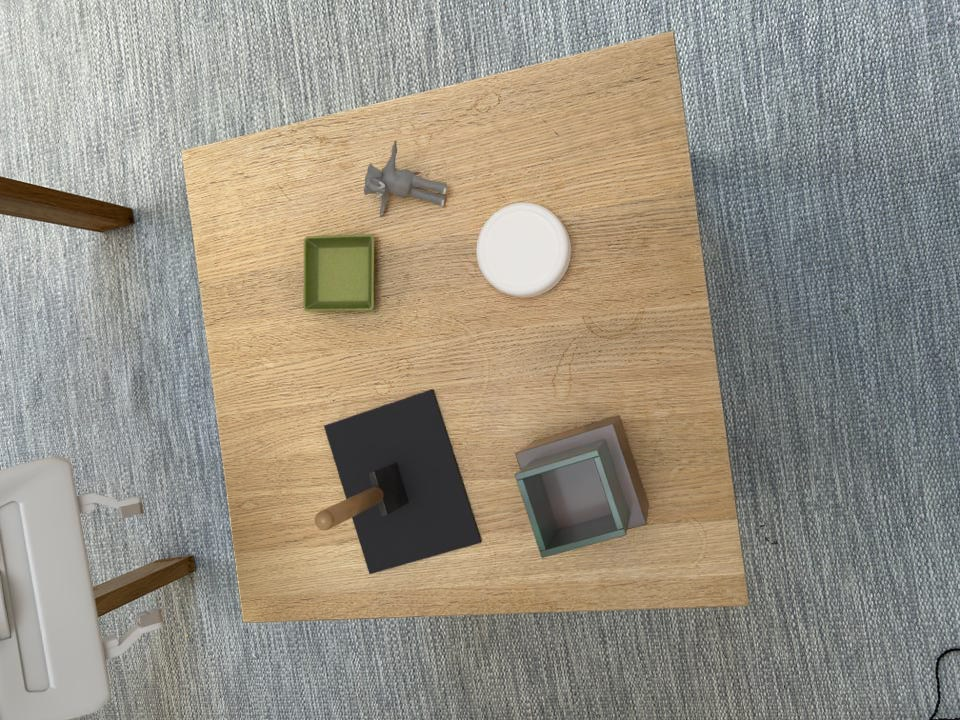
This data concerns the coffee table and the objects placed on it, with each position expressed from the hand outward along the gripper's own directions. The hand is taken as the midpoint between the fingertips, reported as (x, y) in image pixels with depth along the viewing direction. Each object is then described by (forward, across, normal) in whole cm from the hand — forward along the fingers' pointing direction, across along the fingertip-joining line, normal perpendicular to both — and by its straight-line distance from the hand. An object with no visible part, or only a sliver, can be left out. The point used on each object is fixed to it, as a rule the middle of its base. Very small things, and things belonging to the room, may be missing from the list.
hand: (151, 560), depth 64 cm
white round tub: (+42, +23, -2) cm, 48 cm away
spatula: (+28, 0, +11) cm, 30 cm away
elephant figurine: (+34, +33, +6) cm, 48 cm away
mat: (+29, 0, +11) cm, 31 cm away
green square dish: (+27, +25, +13) cm, 39 cm away
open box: (+44, -2, -4) cm, 44 cm away
